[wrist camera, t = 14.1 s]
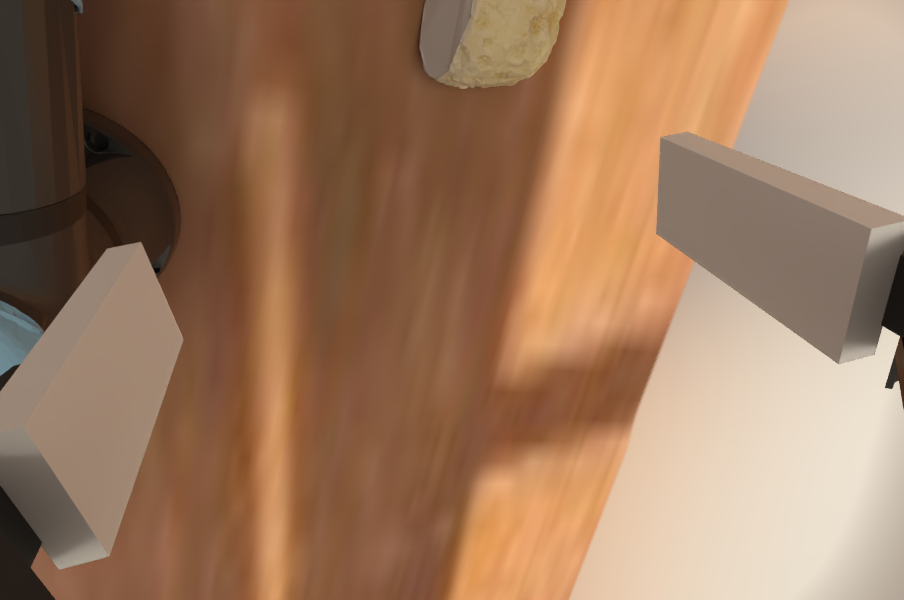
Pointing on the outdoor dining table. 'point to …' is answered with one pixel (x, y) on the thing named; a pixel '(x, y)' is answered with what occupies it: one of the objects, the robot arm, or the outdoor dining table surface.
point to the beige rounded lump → (487, 40)
